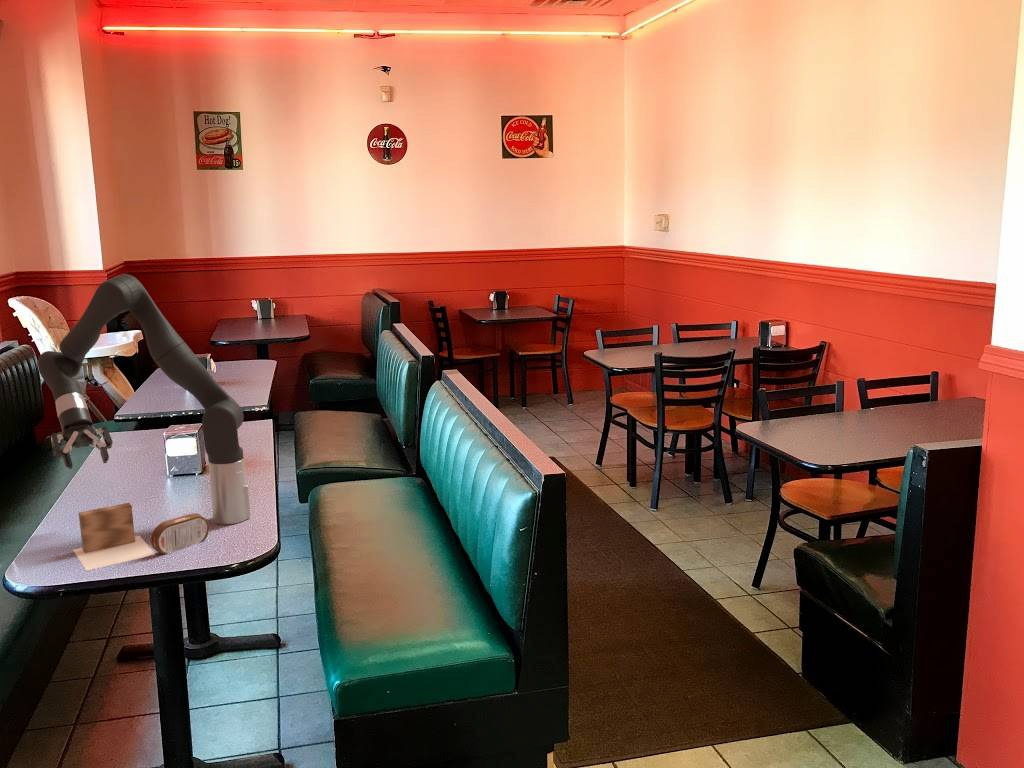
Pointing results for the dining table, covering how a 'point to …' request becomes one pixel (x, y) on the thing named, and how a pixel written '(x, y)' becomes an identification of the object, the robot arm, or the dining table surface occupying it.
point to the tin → (179, 533)
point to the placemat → (114, 554)
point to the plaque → (106, 527)
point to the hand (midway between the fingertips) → (88, 464)
